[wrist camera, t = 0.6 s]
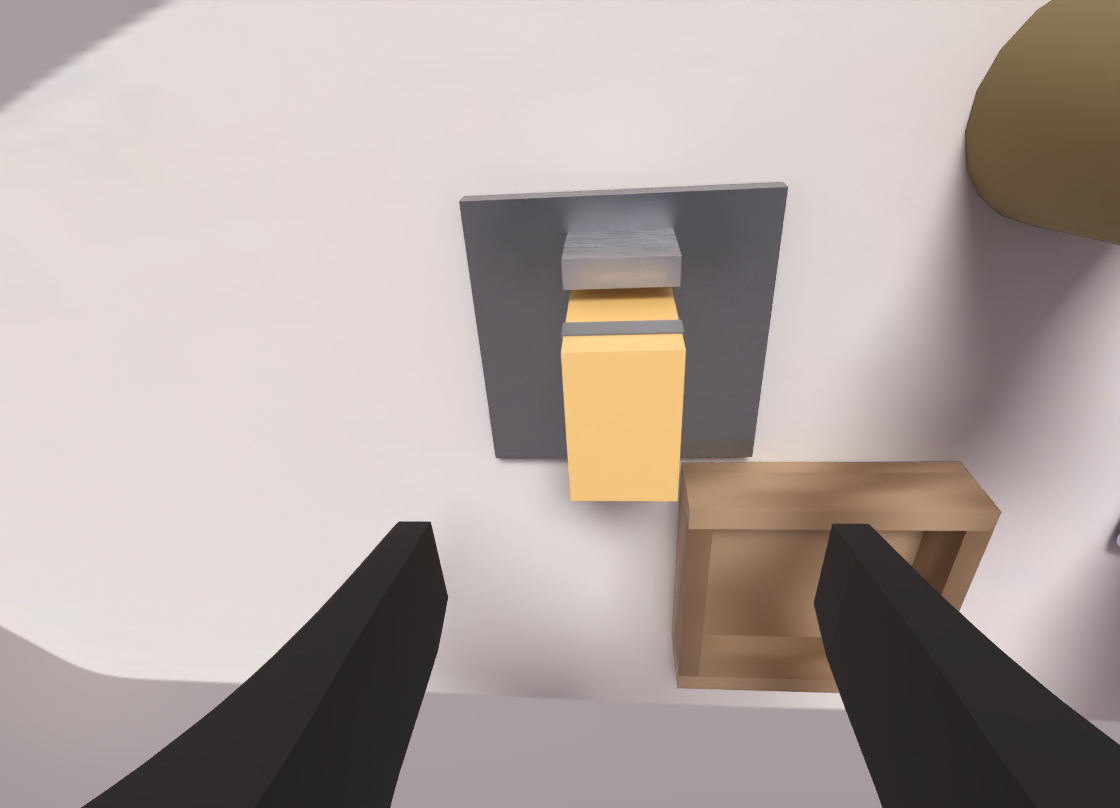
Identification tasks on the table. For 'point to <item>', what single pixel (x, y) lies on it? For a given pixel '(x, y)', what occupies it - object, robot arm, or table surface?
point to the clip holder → (625, 262)
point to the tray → (803, 558)
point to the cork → (1053, 122)
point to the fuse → (623, 393)
